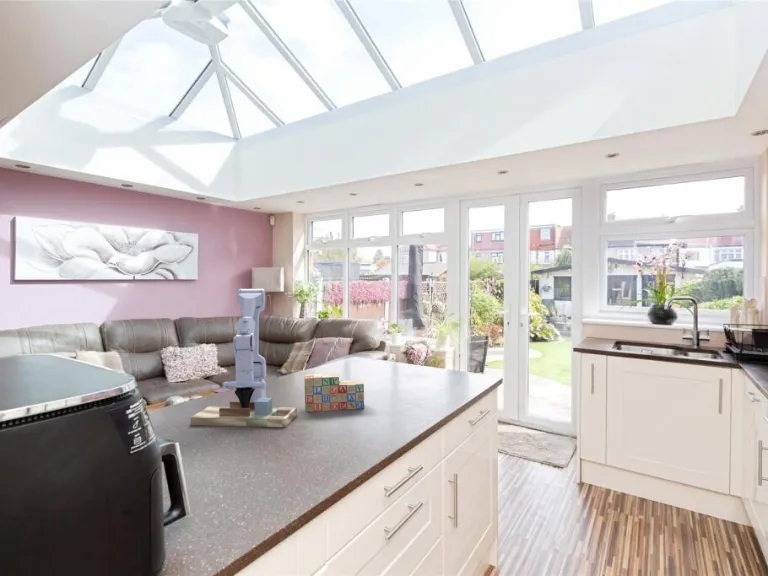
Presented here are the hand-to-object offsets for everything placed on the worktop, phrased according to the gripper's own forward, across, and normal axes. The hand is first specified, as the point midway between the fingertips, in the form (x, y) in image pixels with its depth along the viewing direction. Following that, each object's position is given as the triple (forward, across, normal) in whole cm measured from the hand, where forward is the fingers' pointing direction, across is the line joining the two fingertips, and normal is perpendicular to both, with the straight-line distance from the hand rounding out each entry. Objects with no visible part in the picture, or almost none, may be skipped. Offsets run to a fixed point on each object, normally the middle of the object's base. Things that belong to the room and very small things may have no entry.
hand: (245, 409), depth 139 cm
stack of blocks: (+4, +28, +14) cm, 32 cm away
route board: (+3, 0, 0) cm, 3 cm away
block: (+1, +6, 0) cm, 7 cm away
